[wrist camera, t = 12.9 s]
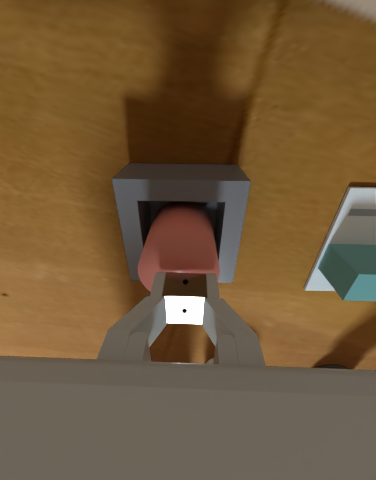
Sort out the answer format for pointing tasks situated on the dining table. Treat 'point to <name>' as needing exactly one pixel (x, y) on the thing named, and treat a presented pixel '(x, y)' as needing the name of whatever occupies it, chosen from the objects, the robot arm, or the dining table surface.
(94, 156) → the dining table surface
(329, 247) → the teal rectangular block
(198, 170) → the button box
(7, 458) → the robot arm
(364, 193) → the sketch sheet
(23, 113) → the dining table surface
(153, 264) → the button
